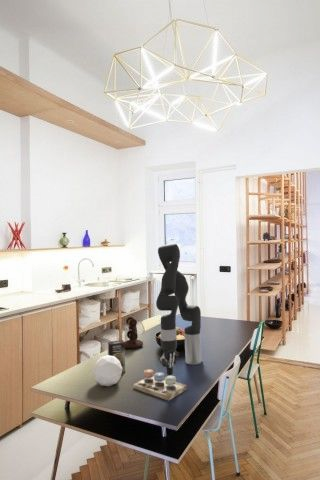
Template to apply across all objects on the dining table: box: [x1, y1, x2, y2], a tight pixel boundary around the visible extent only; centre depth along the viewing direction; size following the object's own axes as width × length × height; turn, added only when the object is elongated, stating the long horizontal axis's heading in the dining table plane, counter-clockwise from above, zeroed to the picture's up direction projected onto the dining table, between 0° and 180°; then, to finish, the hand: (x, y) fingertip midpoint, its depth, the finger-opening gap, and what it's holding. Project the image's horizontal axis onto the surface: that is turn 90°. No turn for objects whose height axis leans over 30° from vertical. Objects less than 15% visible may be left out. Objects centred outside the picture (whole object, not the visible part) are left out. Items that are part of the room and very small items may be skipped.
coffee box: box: [107, 339, 126, 373], centre depth 187 cm, size 9×6×16 cm
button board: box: [132, 377, 188, 401], centre depth 161 cm, size 14×22×3 cm, turn 50°
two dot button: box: [143, 369, 155, 379], centre depth 165 cm, size 5×5×2 cm
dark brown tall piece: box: [123, 316, 144, 351], centre depth 229 cm, size 15×15×20 cm
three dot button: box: [154, 372, 166, 382], centre depth 161 cm, size 5×5×2 cm
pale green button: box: [164, 375, 177, 385], centre depth 156 cm, size 5×5×2 cm
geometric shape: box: [92, 354, 123, 387], centre depth 169 cm, size 14×15×15 cm
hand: (169, 374), depth 156 cm, fingers closed
